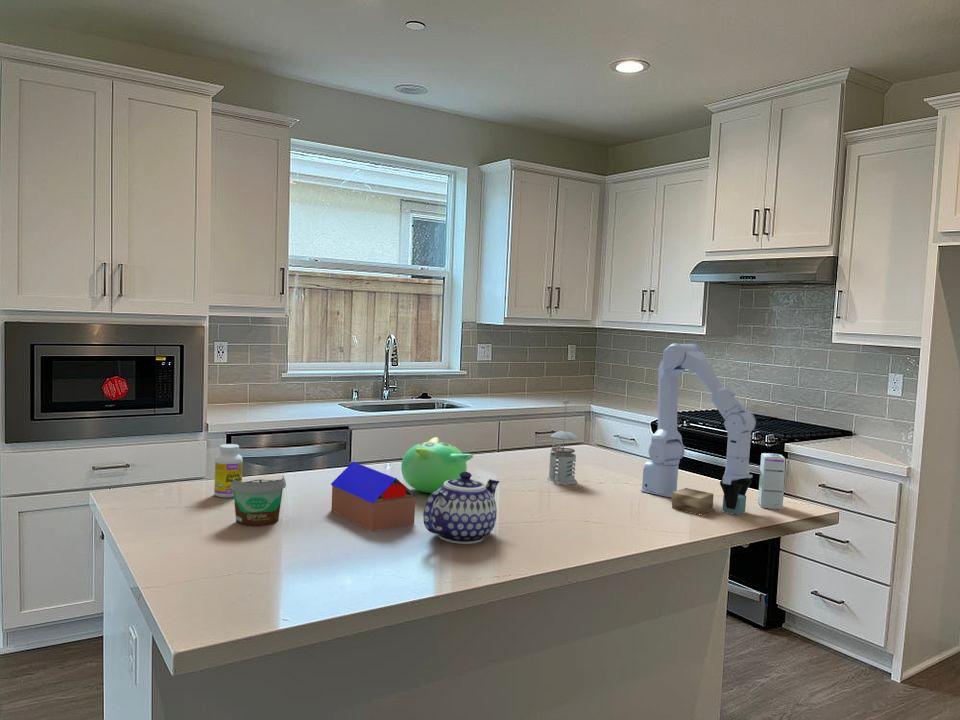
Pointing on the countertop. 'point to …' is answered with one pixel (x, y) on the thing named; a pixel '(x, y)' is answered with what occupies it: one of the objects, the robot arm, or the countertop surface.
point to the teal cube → (739, 506)
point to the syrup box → (771, 481)
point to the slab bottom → (692, 508)
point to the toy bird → (433, 465)
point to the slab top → (692, 497)
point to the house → (372, 498)
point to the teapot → (462, 510)
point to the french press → (562, 458)
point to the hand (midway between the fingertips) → (734, 506)
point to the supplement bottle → (227, 470)
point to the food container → (257, 501)
